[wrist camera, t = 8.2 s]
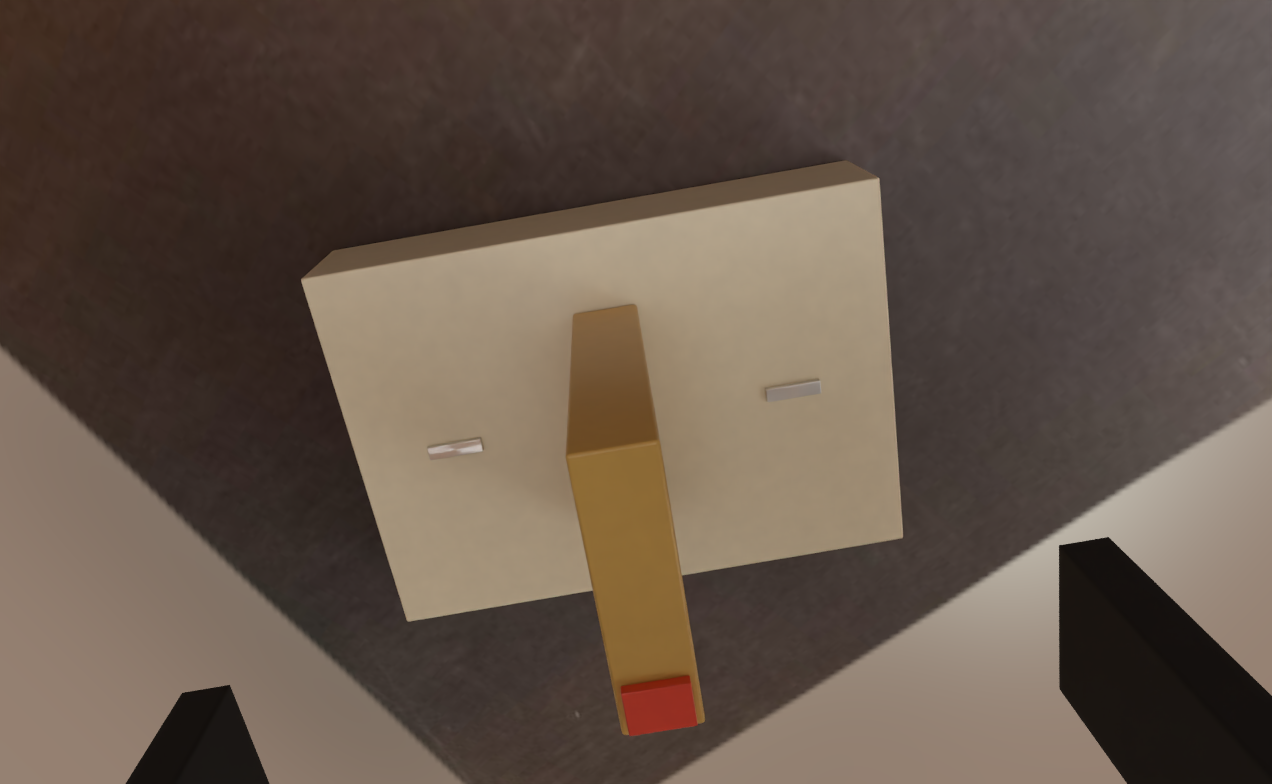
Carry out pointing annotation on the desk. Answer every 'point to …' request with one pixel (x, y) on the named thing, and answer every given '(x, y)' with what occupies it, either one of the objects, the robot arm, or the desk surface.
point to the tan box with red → (629, 525)
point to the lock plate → (678, 370)
